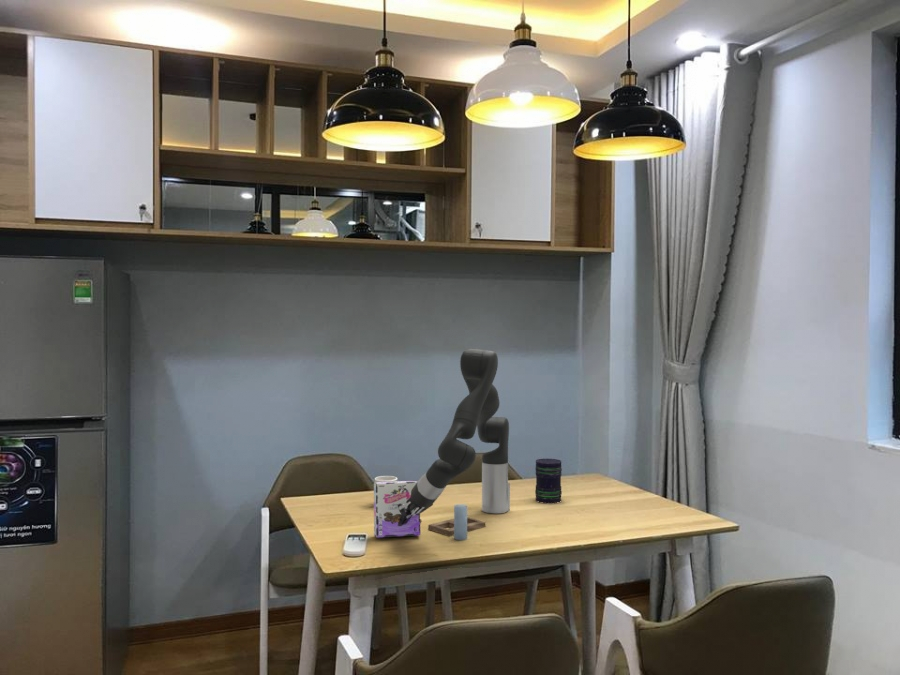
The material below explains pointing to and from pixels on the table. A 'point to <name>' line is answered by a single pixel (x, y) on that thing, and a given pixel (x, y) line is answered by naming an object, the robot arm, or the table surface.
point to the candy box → (393, 509)
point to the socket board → (442, 525)
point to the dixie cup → (385, 479)
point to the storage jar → (548, 480)
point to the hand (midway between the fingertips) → (402, 521)
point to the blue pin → (460, 522)
